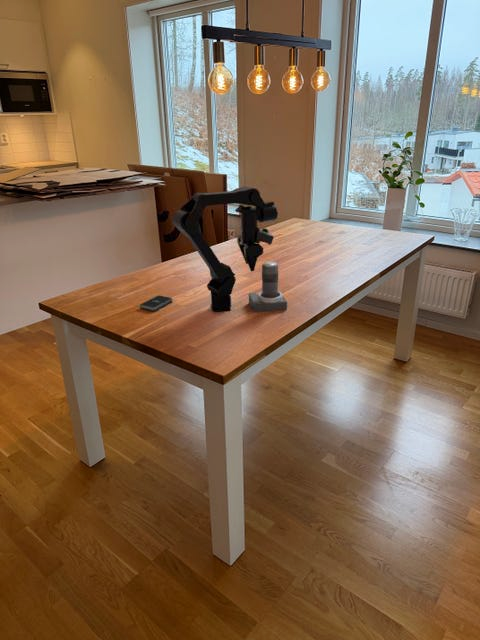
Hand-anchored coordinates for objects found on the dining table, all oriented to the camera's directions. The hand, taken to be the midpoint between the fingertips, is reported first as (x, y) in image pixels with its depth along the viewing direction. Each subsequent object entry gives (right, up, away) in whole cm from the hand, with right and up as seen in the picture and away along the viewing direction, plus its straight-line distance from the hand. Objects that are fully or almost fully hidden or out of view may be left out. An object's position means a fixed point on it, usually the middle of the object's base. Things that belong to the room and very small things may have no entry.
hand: (249, 267), depth 161 cm
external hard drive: (-35, -14, +3) cm, 38 cm away
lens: (+7, -11, -1) cm, 14 cm away
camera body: (+6, -14, 0) cm, 16 cm away
